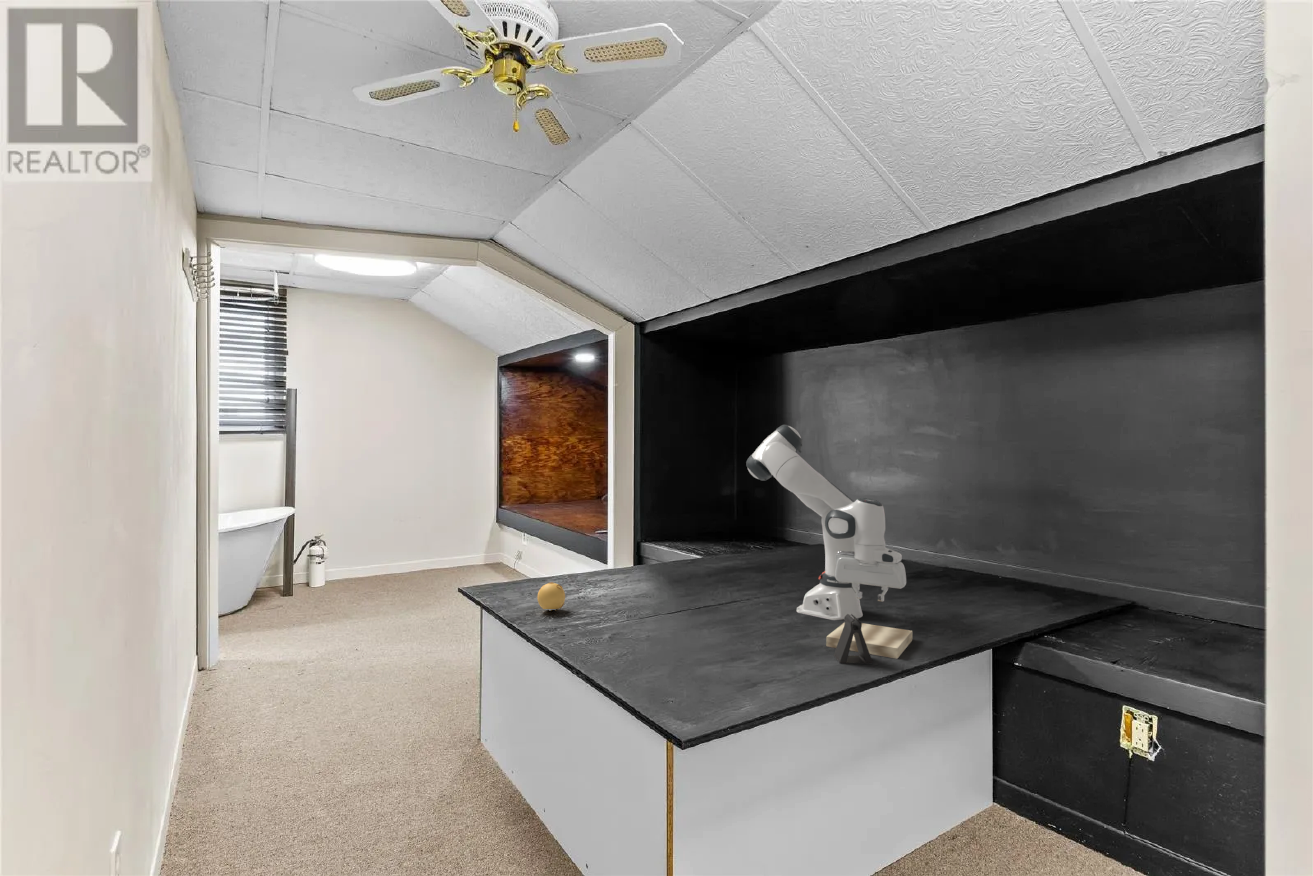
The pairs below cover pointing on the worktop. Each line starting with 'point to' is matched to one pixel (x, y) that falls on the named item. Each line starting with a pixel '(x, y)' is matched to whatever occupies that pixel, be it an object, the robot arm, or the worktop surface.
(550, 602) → the stress ball
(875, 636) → the birch plinth
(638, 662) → the worktop surface
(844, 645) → the phone stand
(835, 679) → the worktop surface
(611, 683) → the worktop surface
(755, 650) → the worktop surface
